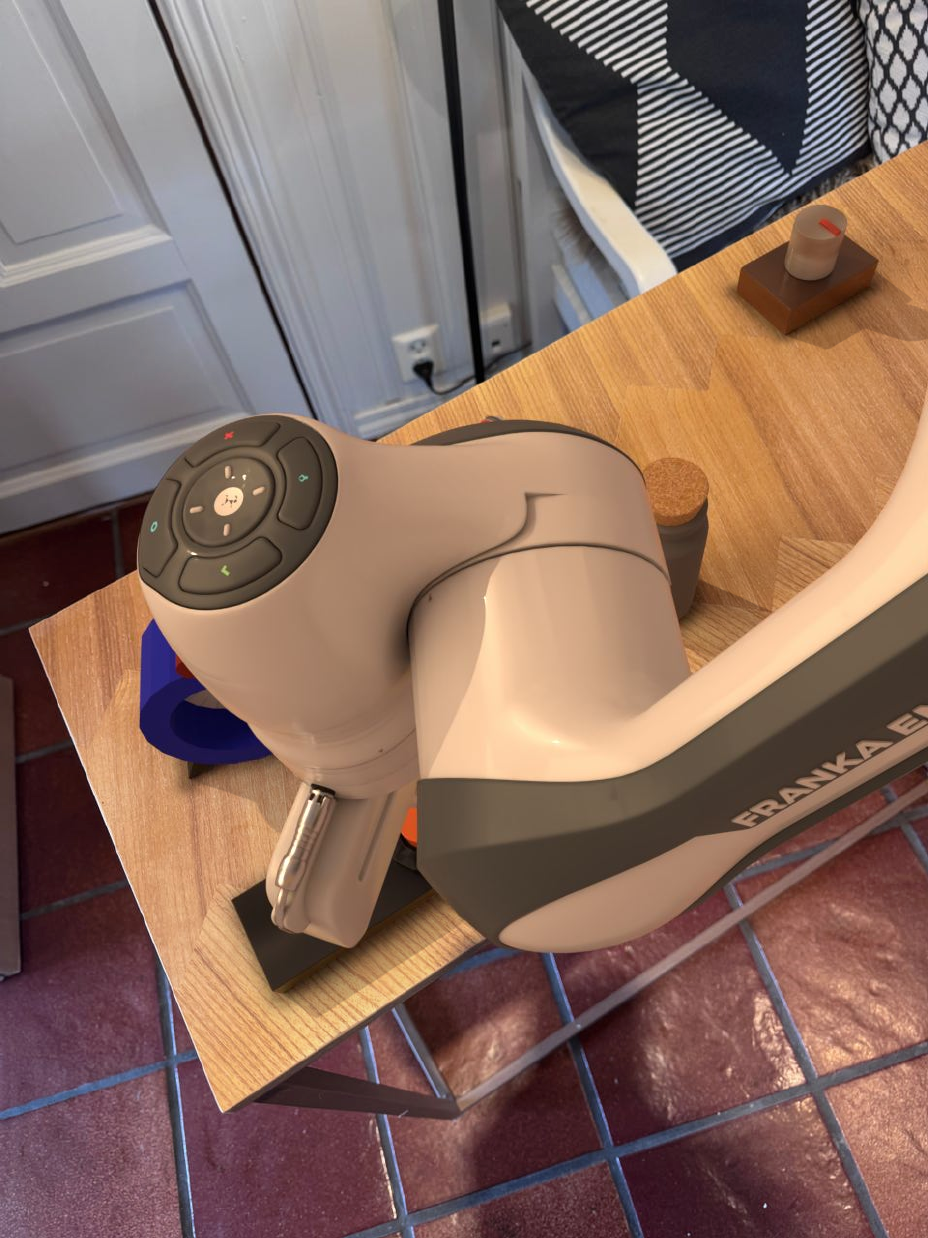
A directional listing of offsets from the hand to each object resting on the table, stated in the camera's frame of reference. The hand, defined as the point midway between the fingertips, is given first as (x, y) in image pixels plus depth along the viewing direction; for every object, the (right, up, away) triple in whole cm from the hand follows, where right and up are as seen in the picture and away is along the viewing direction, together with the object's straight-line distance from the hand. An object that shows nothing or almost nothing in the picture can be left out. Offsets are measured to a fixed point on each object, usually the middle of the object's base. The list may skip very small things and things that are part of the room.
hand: (411, 782), depth 53 cm
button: (0, -5, +8) cm, 10 cm away
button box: (-4, -9, +11) cm, 15 cm away
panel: (+35, +41, +31) cm, 62 cm away
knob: (+35, +42, +28) cm, 62 cm away
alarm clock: (-14, +4, +19) cm, 24 cm away
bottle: (+19, +12, +19) cm, 29 cm away
